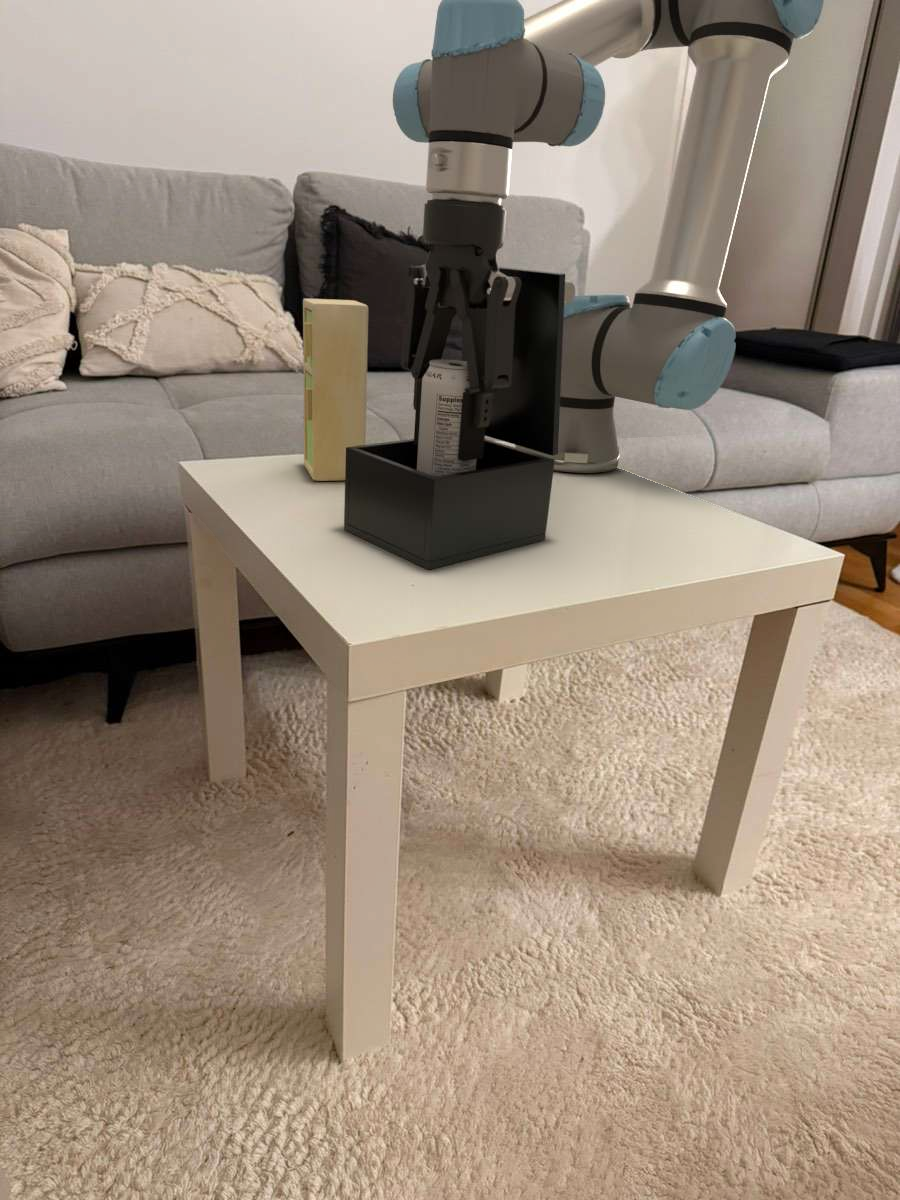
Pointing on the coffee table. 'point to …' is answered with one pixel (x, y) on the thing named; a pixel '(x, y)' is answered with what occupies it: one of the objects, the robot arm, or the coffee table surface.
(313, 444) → the toy refrigerator
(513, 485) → the black box
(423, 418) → the energy drink can
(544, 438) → the box lid
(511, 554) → the coffee table surface
